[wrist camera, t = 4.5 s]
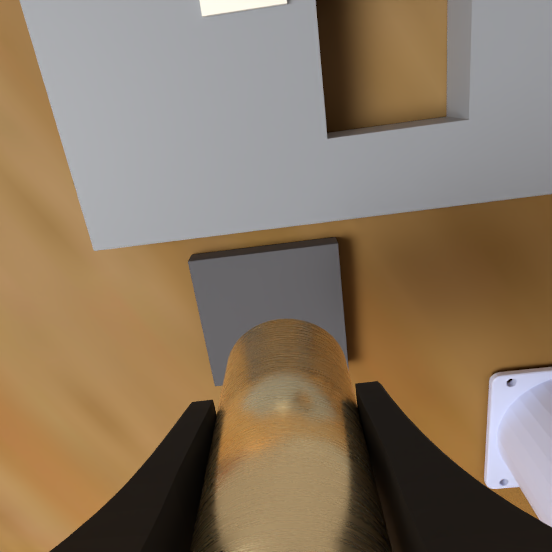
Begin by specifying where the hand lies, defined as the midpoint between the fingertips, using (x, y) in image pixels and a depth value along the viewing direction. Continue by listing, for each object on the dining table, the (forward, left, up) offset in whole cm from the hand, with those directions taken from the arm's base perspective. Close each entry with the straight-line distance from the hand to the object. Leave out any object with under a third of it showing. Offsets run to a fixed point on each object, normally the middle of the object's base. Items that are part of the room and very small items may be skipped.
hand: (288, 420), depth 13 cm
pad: (+1, +2, -10) cm, 11 cm away
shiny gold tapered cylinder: (0, 0, -2) cm, 2 cm away
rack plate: (-2, -9, -10) cm, 14 cm away
